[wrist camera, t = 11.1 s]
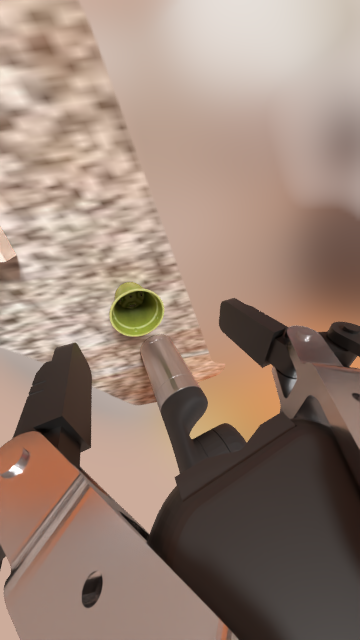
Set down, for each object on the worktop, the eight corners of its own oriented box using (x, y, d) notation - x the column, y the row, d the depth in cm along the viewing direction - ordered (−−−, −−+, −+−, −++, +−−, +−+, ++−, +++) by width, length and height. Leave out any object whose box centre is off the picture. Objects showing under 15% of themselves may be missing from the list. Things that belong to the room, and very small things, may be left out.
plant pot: (99, 279, 31) (101, 297, 25) (147, 269, 34) (160, 283, 27) (114, 319, 37) (118, 343, 30) (154, 308, 40) (167, 327, 33)
